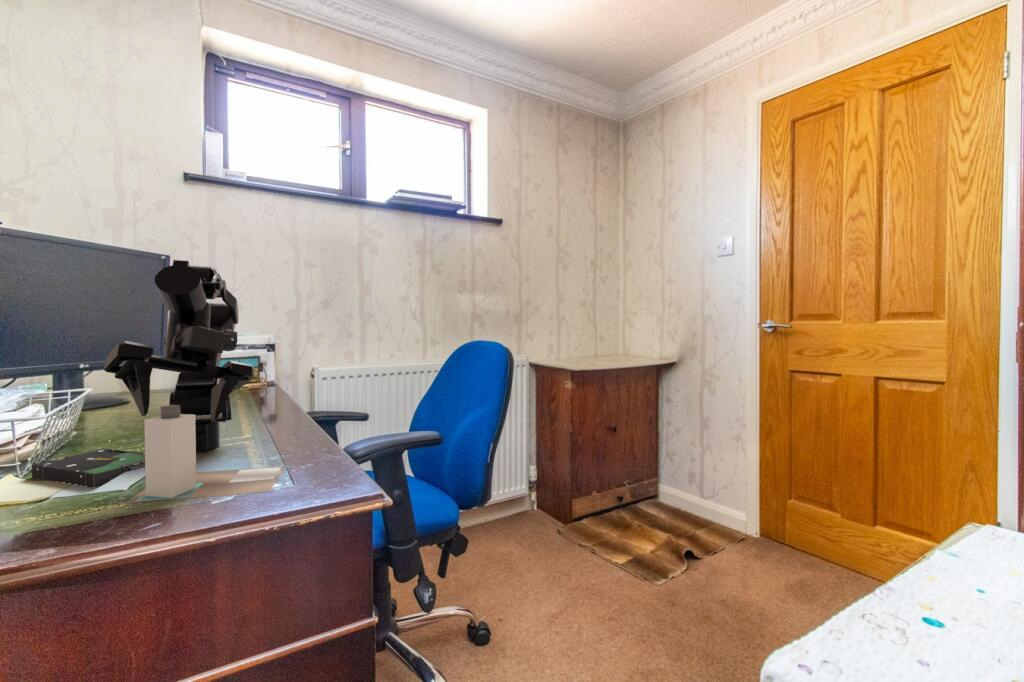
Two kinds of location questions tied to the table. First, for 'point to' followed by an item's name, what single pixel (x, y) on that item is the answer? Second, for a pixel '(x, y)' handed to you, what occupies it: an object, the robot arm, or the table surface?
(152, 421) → the capped white bottle
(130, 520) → the table surface
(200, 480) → the board
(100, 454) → the disk drive
